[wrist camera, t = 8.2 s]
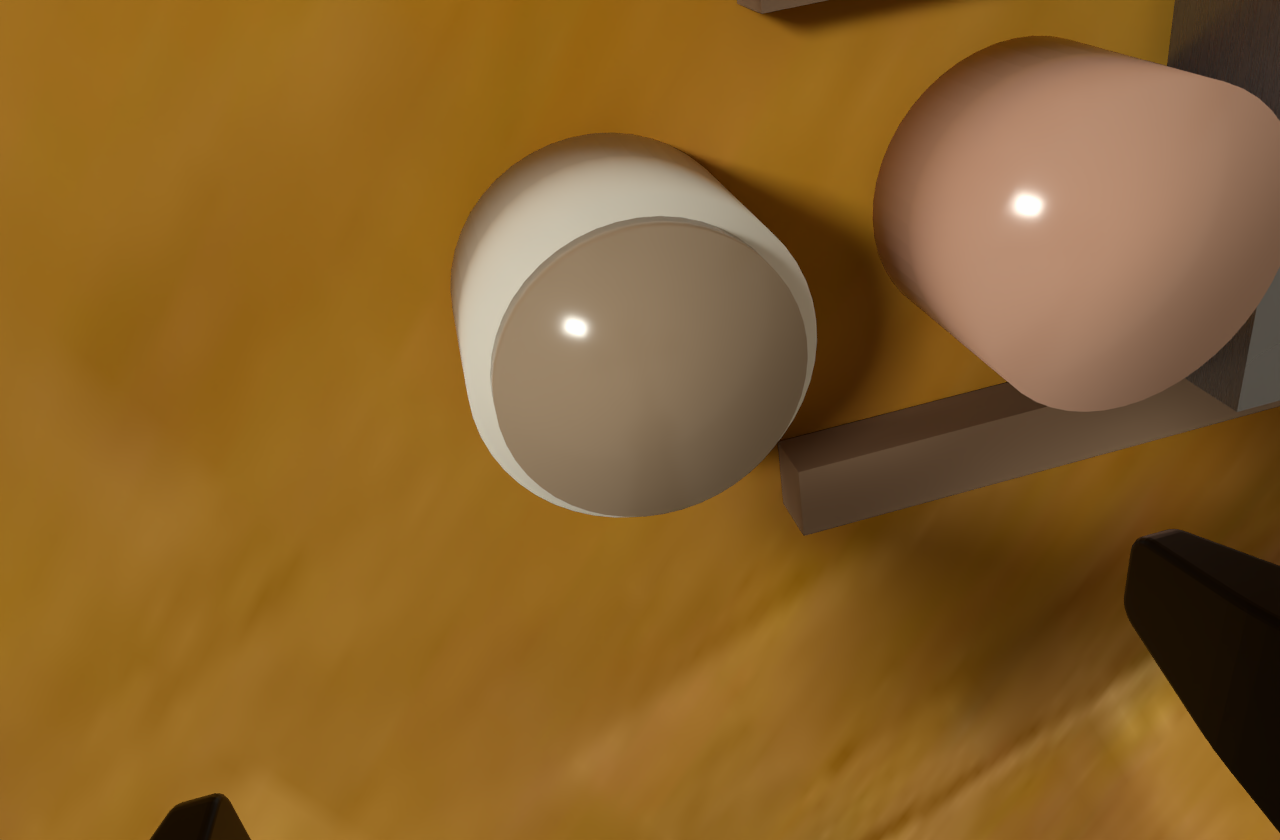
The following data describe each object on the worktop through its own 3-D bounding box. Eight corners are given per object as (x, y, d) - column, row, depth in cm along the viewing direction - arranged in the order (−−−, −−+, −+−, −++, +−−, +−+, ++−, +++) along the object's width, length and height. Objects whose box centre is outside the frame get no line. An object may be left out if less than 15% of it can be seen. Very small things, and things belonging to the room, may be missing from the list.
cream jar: (763, 371, 20) (843, 479, 17) (496, 448, 19) (522, 575, 16) (724, 96, 17) (811, 158, 14) (409, 177, 17) (419, 262, 13)
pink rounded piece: (1152, 242, 21) (1304, 319, 17) (912, 363, 21) (1017, 463, 17) (1113, -20, 18) (1289, 10, 14) (835, 122, 18) (944, 185, 14)
